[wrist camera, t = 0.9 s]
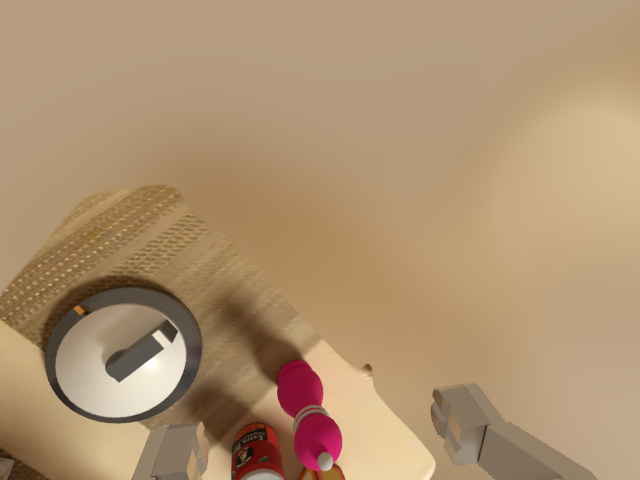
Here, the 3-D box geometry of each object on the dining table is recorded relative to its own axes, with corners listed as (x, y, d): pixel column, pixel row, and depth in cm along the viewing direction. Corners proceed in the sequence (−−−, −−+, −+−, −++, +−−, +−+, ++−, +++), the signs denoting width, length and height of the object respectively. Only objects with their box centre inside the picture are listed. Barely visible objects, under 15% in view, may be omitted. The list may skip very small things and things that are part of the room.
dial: (116, 433, 46) (100, 462, 40) (32, 353, 42) (2, 374, 37) (209, 360, 48) (205, 379, 43) (137, 280, 45) (123, 289, 39)
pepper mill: (265, 378, 53) (281, 472, 34) (297, 348, 54) (331, 423, 35) (292, 405, 54) (323, 510, 35) (323, 376, 55) (369, 462, 36)
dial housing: (210, 396, 51) (209, 406, 48) (67, 430, 46) (57, 442, 43) (193, 276, 49) (190, 279, 46) (40, 297, 44) (28, 302, 41)
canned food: (262, 412, 53) (269, 461, 43) (286, 446, 55) (298, 502, 44) (222, 440, 52) (218, 498, 41) (247, 474, 53) (250, 539, 43)
